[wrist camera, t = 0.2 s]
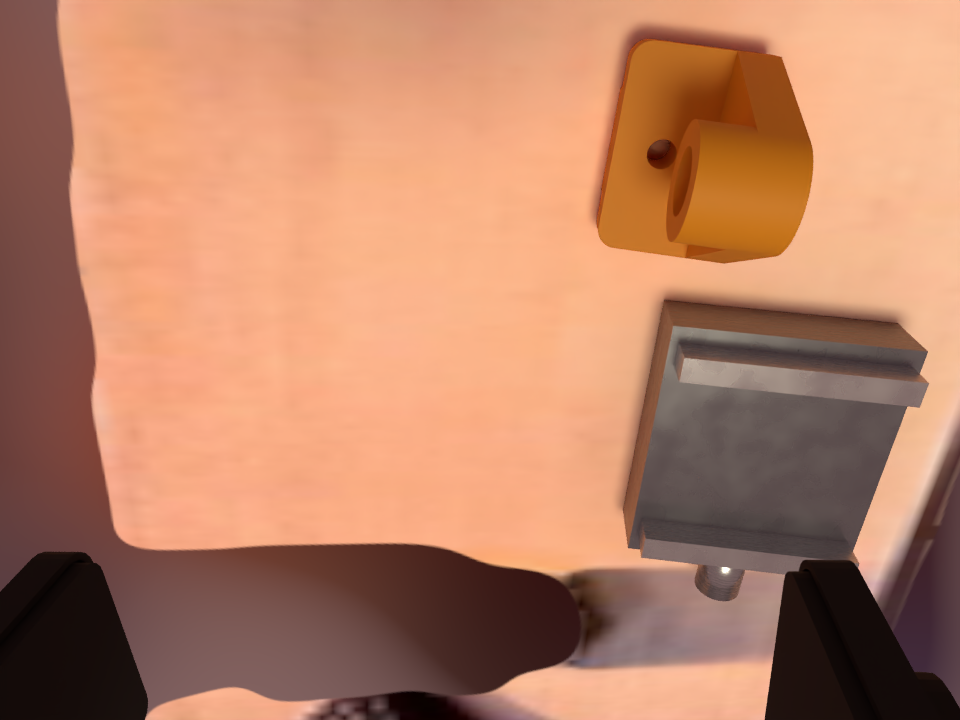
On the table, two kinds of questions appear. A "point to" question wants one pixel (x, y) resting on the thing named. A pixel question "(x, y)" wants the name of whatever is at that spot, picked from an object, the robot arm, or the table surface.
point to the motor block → (764, 438)
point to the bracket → (705, 155)
